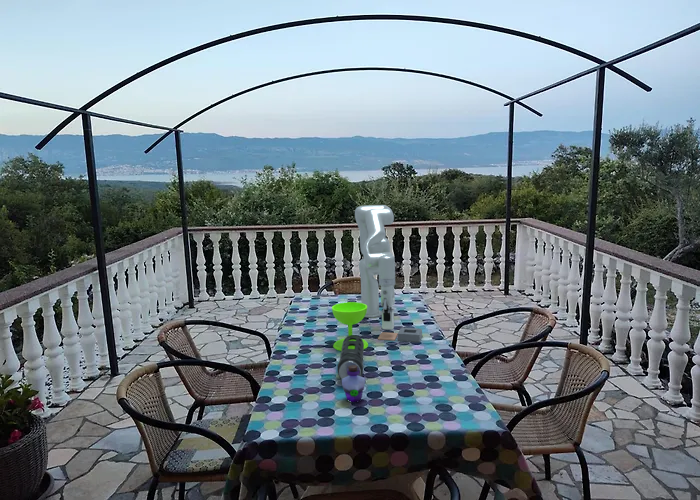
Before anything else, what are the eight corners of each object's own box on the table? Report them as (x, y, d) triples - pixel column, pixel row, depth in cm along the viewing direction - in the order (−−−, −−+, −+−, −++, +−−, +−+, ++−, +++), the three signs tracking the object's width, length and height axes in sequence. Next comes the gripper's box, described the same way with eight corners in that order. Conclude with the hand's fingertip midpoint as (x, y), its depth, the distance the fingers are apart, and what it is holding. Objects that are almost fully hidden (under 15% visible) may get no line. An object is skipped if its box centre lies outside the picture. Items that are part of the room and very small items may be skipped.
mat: (377, 339, 221) (377, 338, 221) (381, 333, 230) (381, 332, 230) (394, 340, 219) (394, 339, 219) (398, 334, 228) (398, 333, 228)
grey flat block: (397, 340, 219) (397, 333, 218) (401, 334, 227) (401, 327, 227) (419, 342, 216) (419, 334, 216) (422, 335, 225) (422, 328, 224)
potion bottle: (347, 407, 158) (346, 373, 156) (337, 396, 166) (336, 364, 164) (370, 401, 161) (369, 368, 160) (360, 391, 169) (359, 359, 167)
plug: (382, 329, 223) (381, 310, 221) (383, 326, 226) (383, 308, 225) (392, 329, 221) (392, 310, 220) (394, 327, 225) (393, 308, 223)
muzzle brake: (364, 357, 201) (364, 334, 199) (363, 386, 173) (362, 359, 172) (342, 357, 202) (341, 334, 200) (337, 386, 174) (336, 360, 172)
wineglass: (375, 344, 216) (374, 305, 213) (351, 354, 204) (350, 314, 201) (349, 336, 226) (348, 300, 224) (325, 346, 215) (324, 308, 212)
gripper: (391, 285, 211) (392, 325, 214) (398, 278, 227) (398, 315, 230) (375, 285, 213) (376, 324, 216) (382, 277, 229) (383, 314, 232)
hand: (387, 319), depth 223 cm, fingers closed on plug, 3 cm apart
